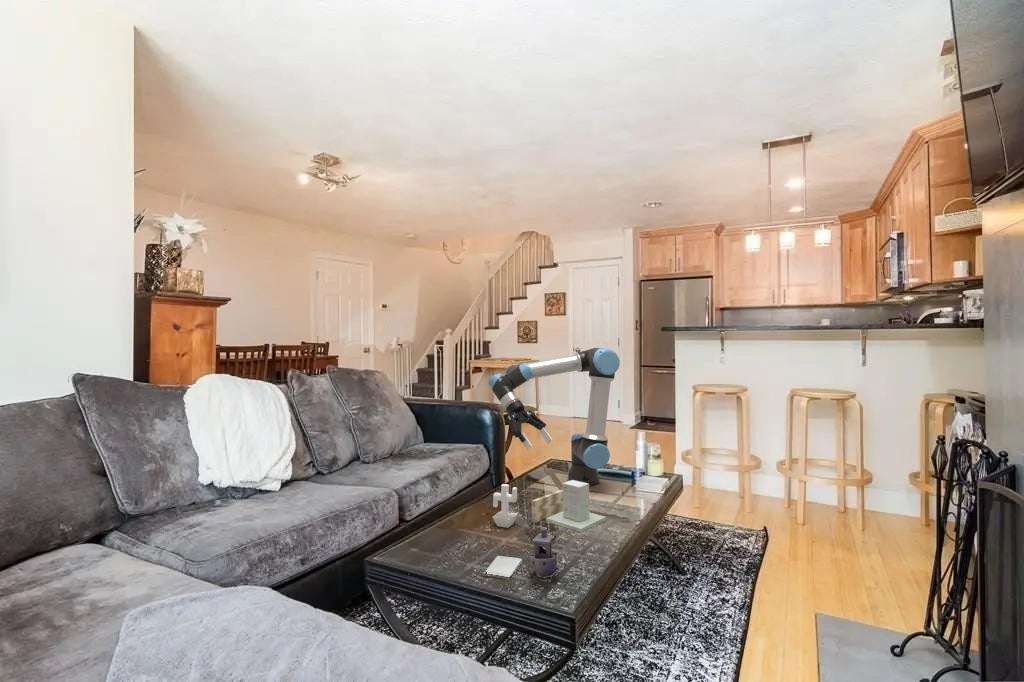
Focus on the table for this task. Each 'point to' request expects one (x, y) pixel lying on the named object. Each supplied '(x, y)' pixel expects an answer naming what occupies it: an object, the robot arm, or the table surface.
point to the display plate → (576, 525)
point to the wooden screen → (547, 506)
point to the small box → (576, 500)
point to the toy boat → (544, 555)
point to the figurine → (505, 506)
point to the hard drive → (504, 566)
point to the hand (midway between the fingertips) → (540, 444)
